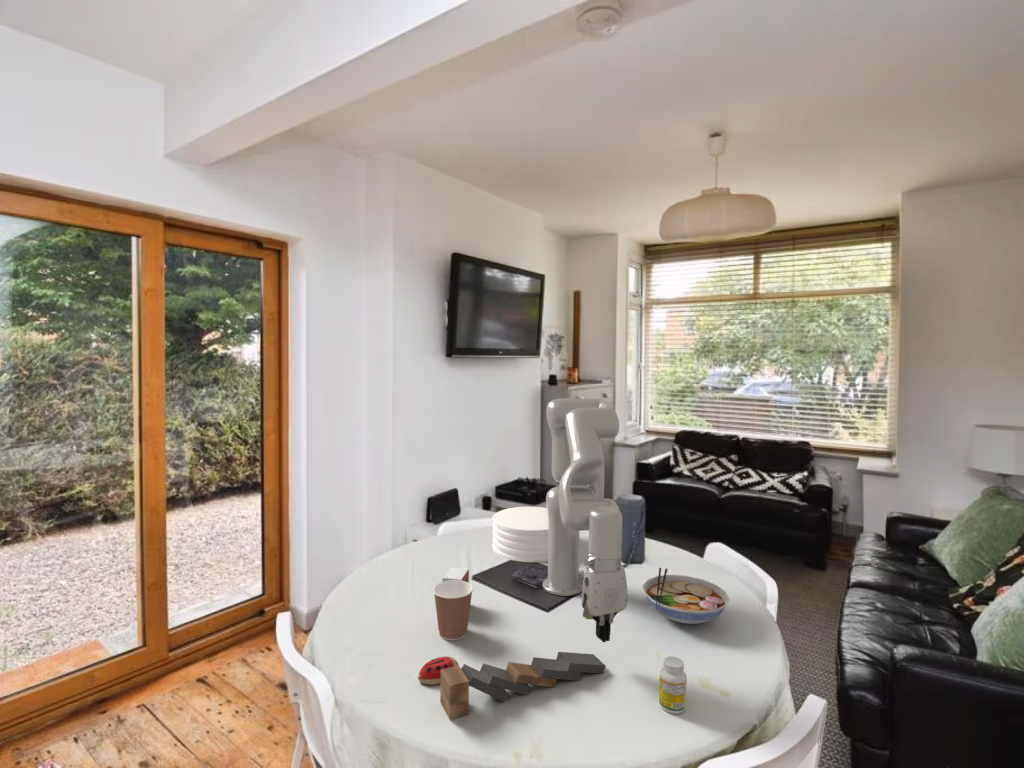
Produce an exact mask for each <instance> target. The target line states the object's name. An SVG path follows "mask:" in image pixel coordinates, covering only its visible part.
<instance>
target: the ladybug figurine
mask: <svg viewBox="0 0 1024 768" xmlns="http://www.w3.org/2000/svg"><path fill="white" fill-rule="evenodd" d="M458 665H459V663H458V661H457V660H456V659H455V658H454V657H451V656H441V657H435V658H434V659H430V660H429V661H428V662H426V663H425V664H423V666H422V667H421V668H420V670H419V673H418V675H417V680H419V682H420V683H422V684H424V685H430V686H433V685H434V686H435V685H440V681H441V670H442V669H446V668H450V667H454V666H458Z"/></svg>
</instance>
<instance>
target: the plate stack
mask: <svg viewBox="0 0 1024 768" xmlns="http://www.w3.org/2000/svg"><path fill="white" fill-rule="evenodd" d="M548 534H549V525H548V512H547V507H539V506H515V507H509V508H505V509H501V510H499V511H497V512H496V513H494V514H493V516H492V544H491V545H492V546H491V547H492V550H493V552H494V553H495V554H496V555H498V556H499V557H501V558H503V559H506V560H510V561H515V562H519V563H520V562H521V563H541V562H542V563H544V562H548Z"/></svg>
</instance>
